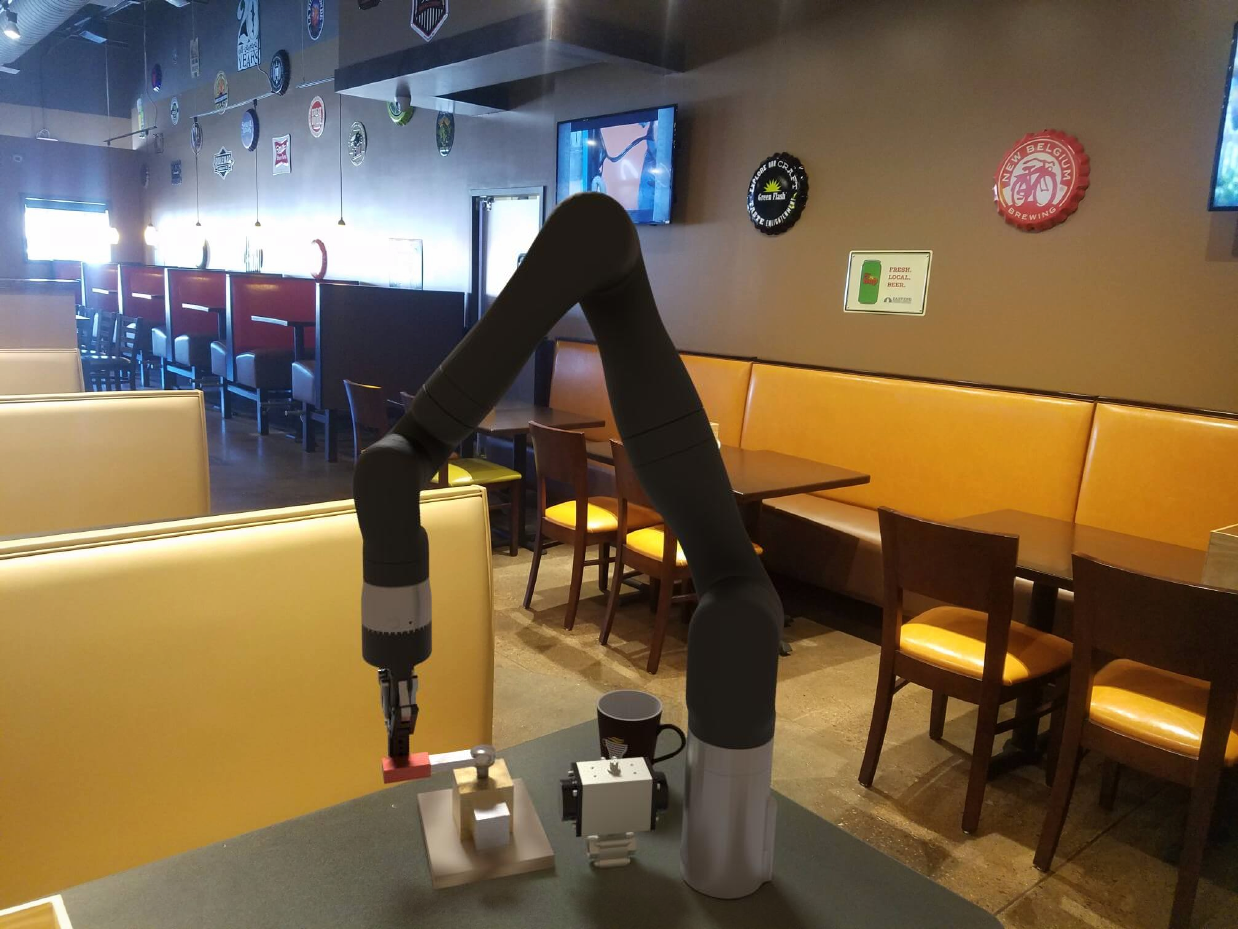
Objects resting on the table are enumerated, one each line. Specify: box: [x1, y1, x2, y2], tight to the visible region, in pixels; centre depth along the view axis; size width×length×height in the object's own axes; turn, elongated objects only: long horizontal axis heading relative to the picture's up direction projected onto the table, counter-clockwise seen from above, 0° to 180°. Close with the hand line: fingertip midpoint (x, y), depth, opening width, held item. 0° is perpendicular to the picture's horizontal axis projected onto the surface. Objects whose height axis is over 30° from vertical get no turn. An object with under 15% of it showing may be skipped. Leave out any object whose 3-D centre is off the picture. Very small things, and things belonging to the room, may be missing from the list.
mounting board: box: [416, 777, 555, 890], centre depth 101 cm, size 13×16×2 cm
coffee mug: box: [596, 689, 687, 768], centre depth 112 cm, size 12×9×10 cm
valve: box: [451, 758, 514, 858], centre depth 100 cm, size 6×13×7 cm, turn 19°
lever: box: [381, 744, 496, 785], centre depth 97 cm, size 12×3×2 cm, turn 110°
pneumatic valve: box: [557, 756, 670, 869], centre depth 97 cm, size 6×12×12 cm, turn 101°
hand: (398, 760), depth 99 cm, fingers closed
